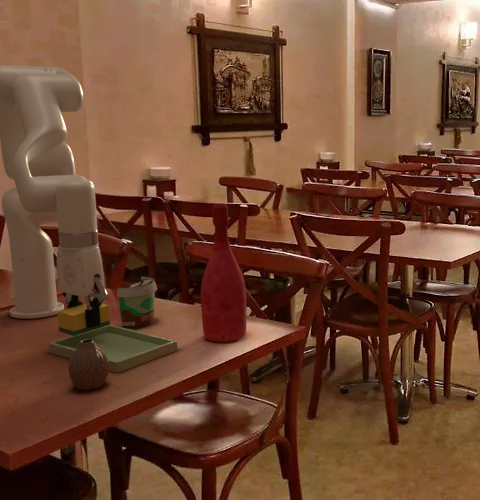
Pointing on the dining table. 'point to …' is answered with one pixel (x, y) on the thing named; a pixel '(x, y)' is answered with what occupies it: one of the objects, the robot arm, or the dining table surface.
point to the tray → (118, 346)
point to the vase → (88, 366)
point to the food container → (137, 303)
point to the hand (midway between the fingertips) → (84, 323)
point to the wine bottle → (223, 287)
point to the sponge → (80, 319)
